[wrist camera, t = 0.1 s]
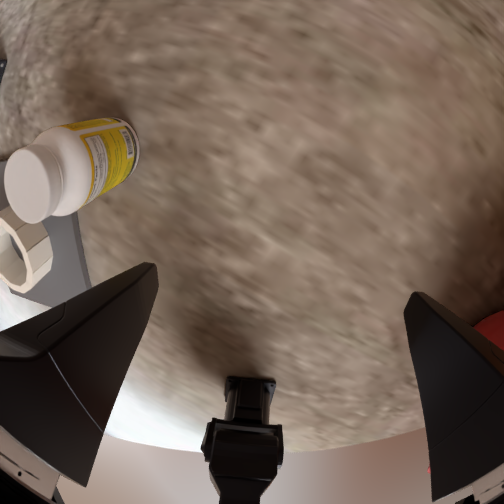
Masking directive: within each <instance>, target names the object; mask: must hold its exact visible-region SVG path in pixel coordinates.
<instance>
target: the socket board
mask: <svg viewBox="0 0 504 504" xmlns="http://www.w3.org/2000/svg"><path fill="white" fill-rule="evenodd" d="M7 162H8V160H3V161H0V277H1V279H2V280H3V281H4V282H5V283H6V284H7V285H8V286H9V289H10V291H11V293H12V294H15V295H18V296H20V297H23V298H26V299H29V300H31V301H34V302H37V303H40V304H43V305H46V306H49V307H52V308H53V307H55V306H57V305H59V304H61V303H63V302H66V301H67V300H69V299H71V298H73V297H75V296H76V295H78V294H80V293H82V292H84V291H86V290H88V289H90V288H92V287H91V283H90V279H89V275H88V271H87V266H86V262H85V257H84V252H83V247H82V241H81V236H80V230H79V224H78V217H77V211H75V212H73V213H71V214H69V215H66V216H53V215H50V216H49V217H47V218H45V219H44V220H42V221H40V222H38V223H35V224H30V223H27V222H25V221H23V220H22V219H20V218H19V217H18V216H17V215H16V213H15V212H14V211H13V209H12V208H11V206H10V204H9V201H8V199H7V196H6V192H5V186H4V173H5V168H6V164H7Z"/></svg>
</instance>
